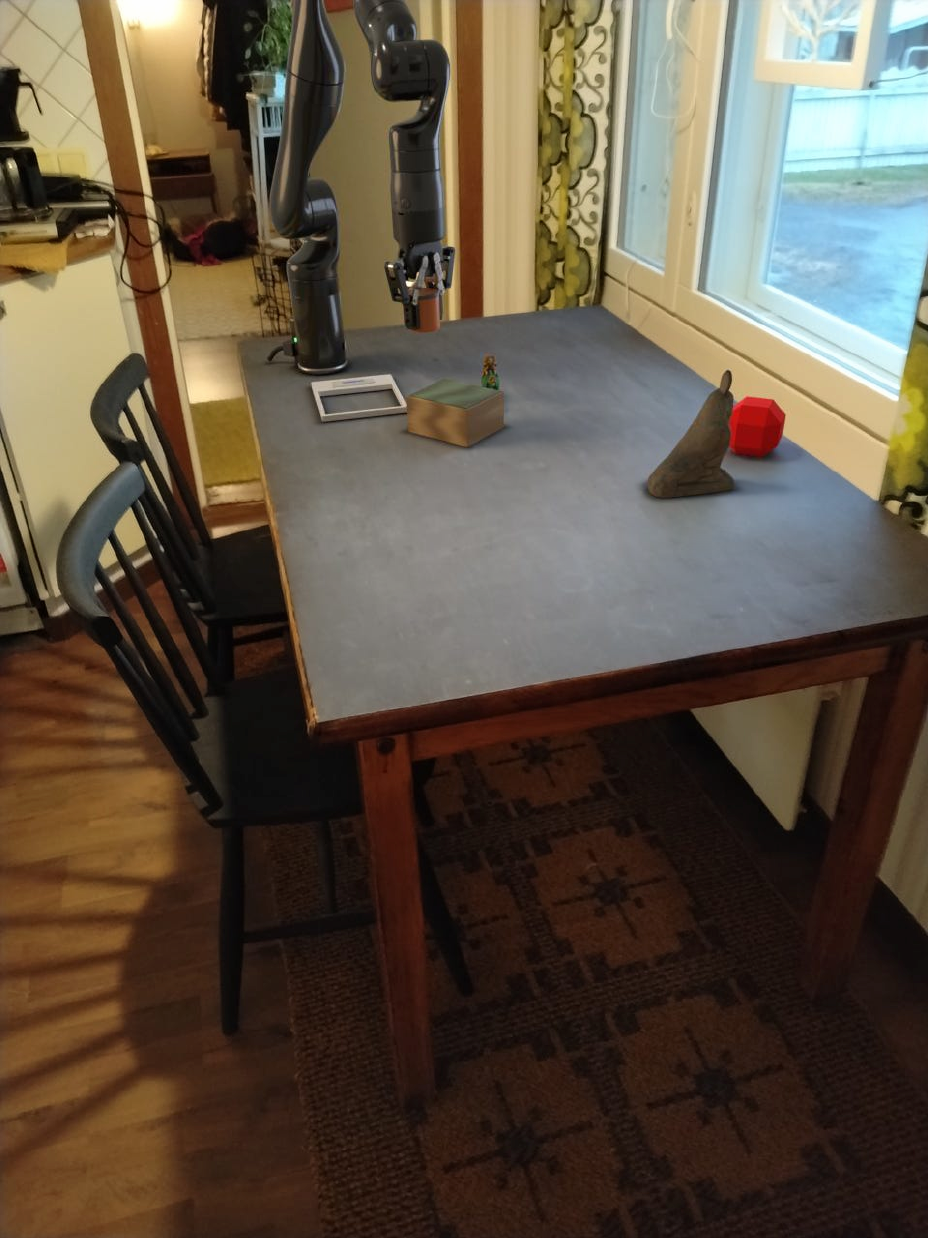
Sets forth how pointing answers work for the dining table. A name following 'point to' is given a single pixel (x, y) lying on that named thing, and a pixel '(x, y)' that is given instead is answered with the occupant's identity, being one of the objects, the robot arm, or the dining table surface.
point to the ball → (756, 426)
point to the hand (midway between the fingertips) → (424, 324)
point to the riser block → (455, 412)
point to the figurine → (490, 374)
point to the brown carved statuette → (699, 451)
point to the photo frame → (352, 387)
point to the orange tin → (428, 310)
